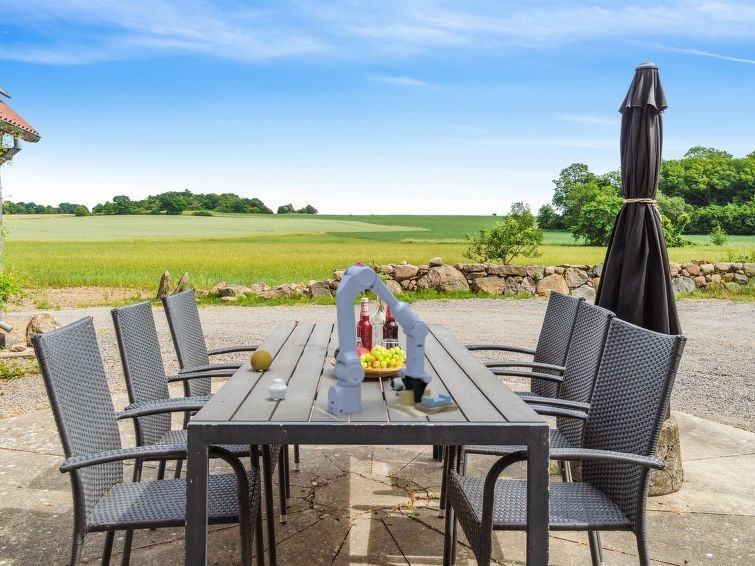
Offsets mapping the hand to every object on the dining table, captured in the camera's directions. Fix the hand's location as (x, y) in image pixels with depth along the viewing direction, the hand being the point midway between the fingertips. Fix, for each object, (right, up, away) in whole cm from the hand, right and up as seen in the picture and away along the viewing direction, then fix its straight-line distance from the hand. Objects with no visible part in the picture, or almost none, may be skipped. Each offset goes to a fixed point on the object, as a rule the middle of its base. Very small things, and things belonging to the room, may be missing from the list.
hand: (414, 401), depth 196 cm
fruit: (-58, +2, +55) cm, 80 cm away
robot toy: (-1, -1, +17) cm, 17 cm away
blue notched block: (+6, -1, -7) cm, 10 cm away
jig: (+1, -2, -6) cm, 6 cm away
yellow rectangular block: (0, -1, 0) cm, 1 cm away
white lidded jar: (-44, -1, +8) cm, 45 cm away
